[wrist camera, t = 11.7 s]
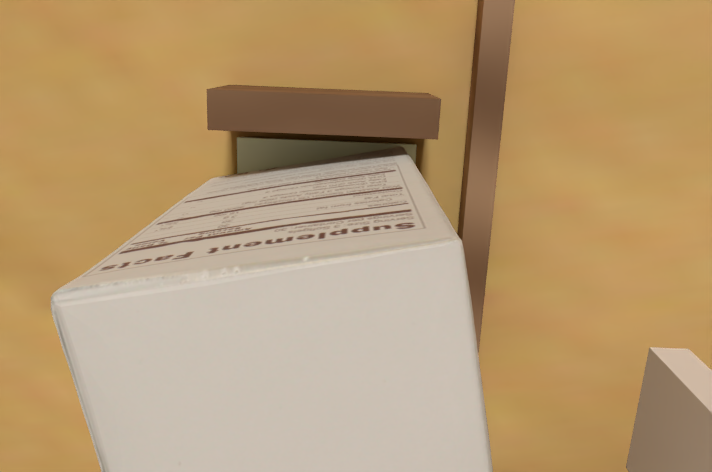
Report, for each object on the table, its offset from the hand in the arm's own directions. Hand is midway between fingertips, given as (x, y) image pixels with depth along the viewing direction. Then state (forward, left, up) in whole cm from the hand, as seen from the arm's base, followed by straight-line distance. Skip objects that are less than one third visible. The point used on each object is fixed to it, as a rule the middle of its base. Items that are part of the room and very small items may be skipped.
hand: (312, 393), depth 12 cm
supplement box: (+1, 0, -11) cm, 11 cm away
